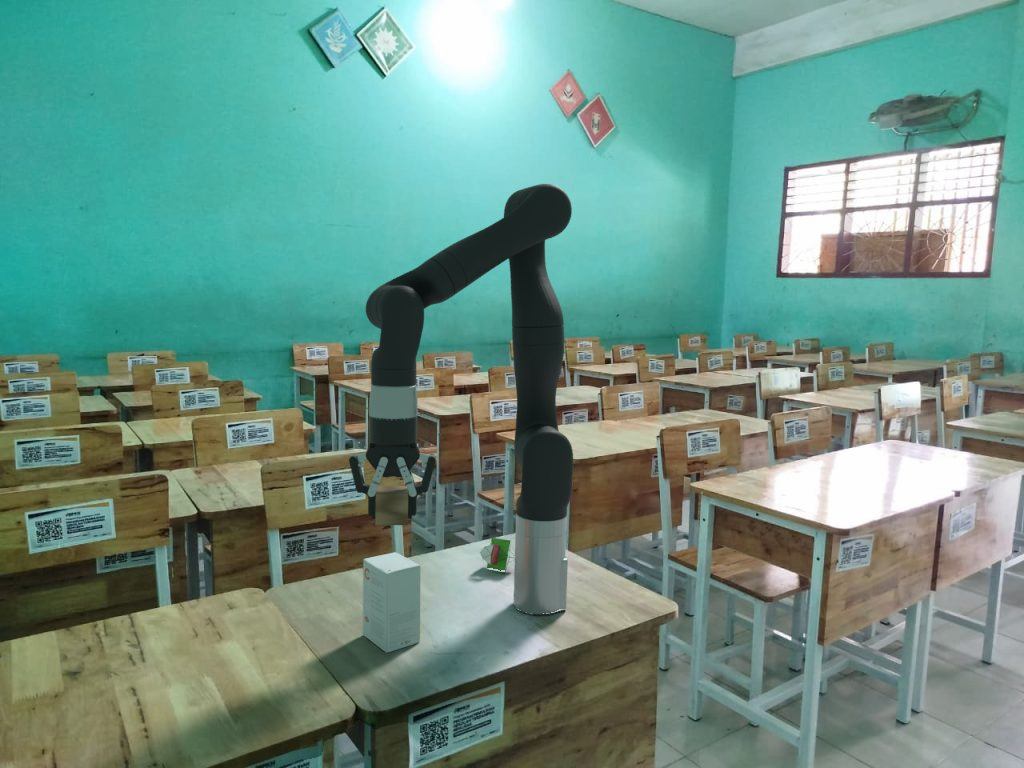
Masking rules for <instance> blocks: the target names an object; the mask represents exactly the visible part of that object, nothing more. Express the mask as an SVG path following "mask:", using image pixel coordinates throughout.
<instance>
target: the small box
mask: <svg viewBox="0 0 1024 768" xmlns="http://www.w3.org/2000/svg"><path fill="white" fill-rule="evenodd" d="M362 562H363V568H362V569H363V573H362V577H363V578H362V584H363V585H362V636H364V637H365V638H366V639H368V640H370V641H371V642H372V643H373V644H374V645H376V646H377V647H378V648H380V649H381V650H382V651H384V652H385V653H391V652H395V651H397V650H400V649H405V648H406V647H409V646H412V645H415V644H418V643H420V642H421V564H419V563H416V562H415V561H413V560H411V559H409V558H407V557H406V556H403V555H401V554H400V553H398V552H395V551H393V552H389V553H385V554H380V555H376V556H371V557H367V558H363V561H362Z"/></svg>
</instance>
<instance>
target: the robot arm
mask: <svg viewBox="0 0 1024 768" xmlns="http://www.w3.org/2000/svg"><path fill="white" fill-rule="evenodd" d="M572 213H573V208H572V203H571V199H570V197H569V196H568V194H567V193H566V191H565V190H564V189H562V188H561V187H560V186H557V185H555V184H553V183H552V184H551V183H539V184H536V185H532V186H528V187H525V188H522V189H518V190H516V191H515V192H513V193H512V194H510V195H509V197H508V198H507V200H506V202H505V205H504V211H503V217H501V219H499V220H498V221H495V222H494V223H492V224H490V225H489V226H487V227H485V228H482V229H480V230H478V231H476V232H475V233H473V234H470V235H468V236H466V237H464V238H462V239H460V240H457V241H456V242H455V243H452V244H451V245H449V246H447V247H445V248H444V249H442V250H440V251H438V252H437V253H436V254H435V255H433V256H431V257H430V258H428V259H427V260H425V261H424V262H423V263H421V264H420V265H419V266H417V267H415V268H413V269H411V270H409V271H407V272H405V273H403V274H401V275H399V276H397V277H394V278H393V279H390V280H389V281H387V282H385V283H383V284H382V285H380V286H378V287H377V288H376V289H375V290H373V292H371V293H370V295H369V296H368V297H367V300H366V302H365V303H366V304H365V315H366V317H367V319H368V321H369V322H370V323H371V324H372V325H373V326H374V327H375V328H377V329H380V337H379V344H378V345H379V346H378V347H377V348H375V349H374V350H373V351H372V355H371V361H370V362H371V364H370V368H371V369H370V370H371V371H370V373H371V374H370V377H371V378H370V380H371V381H370V384H371V385H370V393H369V405H368V414H369V415H368V417H369V418H368V424H369V425H368V447H367V449H366V451H365V452H362V453H361V452H360V453H352V454H351V455H350V456H349V458H348V462H349V465H350V470H351V475H352V479H353V482H354V483H353V484H354V487H355V489H356V493H359V494H364V495H366V496H367V503H368V504H367V508H368V509H367V513H368V516H370V517H371V519H372V520H375V513H376V492H377V489H378V486H380V483H381V479H382V478H389V477H394V478H402V480H403V482H404V486H406V487H407V490H408V492H409V496H408V520H413V516H416V514H417V510H418V496H419V495H421V494H425V493H427V492H428V491H429V487H430V484H431V480H432V477H433V472H434V469H435V465H436V462H437V459H436V455H435V454H434V453H430V454H428V453H424V452H423V453H422V452H421V451H420V449H419V447H418V412H419V408H418V404H419V403H418V402H419V401H418V392H417V391H418V390H417V356H418V352H419V349H420V346H421V345H420V344H421V339H422V335H423V331H424V330H423V329H424V324H425V309H427V308H428V307H430V306H433V305H438V304H441V303H443V302H445V301H448V300H449V299H451V298H452V297H454V296H455V295H457V294H458V293H460V292H461V291H463V290H464V289H465V288H467V287H469V286H470V285H471V284H473V283H474V282H476V281H477V280H479V279H480V278H481V277H482V276H485V275H486V274H487V273H489V272H490V271H492V270H493V269H495V268H497V267H498V266H499V265H501V264H503V263H504V262H506V261H507V260H508V263H509V273H510V274H509V275H510V297H511V300H510V301H511V327H512V328H511V334H512V335H511V337H512V338H511V339H512V341H511V342H512V355H513V356H512V357H513V370H514V371H513V372H514V380H515V389H516V416H515V429H514V430H515V432H514V449H513V450H514V456H515V458H516V461H517V462H518V464H519V465H520V467H521V484H520V485H521V487H520V494H519V496H518V497H517V498H516V506H515V507H516V508H515V509H516V511H515V541H514V543H515V544H514V572H513V573H514V575H513V579H514V580H513V585H514V586H513V606H514V607H516V608H517V610H518V609H519V610H521V611H520V612H522V611H523V612H522V613H524V612H527V613H526V614H528V613H532V614H531V615H533V614H543V613H544V614H546V613H551V612H555V611H557V610H559V609H566V610H567V597H568V596H567V594H568V593H567V591H568V567H569V565H568V564H569V561H568V559H567V557H566V553H567V552H566V550H567V547H566V546H567V519H568V518H567V517H568V505H569V504H570V501H571V497H572V487H573V472H574V471H573V470H574V451H573V447H572V445H571V442H570V440H569V438H568V437H567V436H566V435H565V434H563V432H561V431H559V426H558V425H559V424H558V417H557V407H556V406H557V403H556V402H557V401H556V398H557V396H556V395H557V390H558V384H559V379H560V375H561V371H562V367H563V361H564V355H565V326H564V325H565V323H564V321H565V320H564V315H563V314H564V313H563V310H562V307H561V305H560V302H559V299H558V296H557V295H556V293H555V290H554V287H553V286H552V283H551V280H550V278H549V276H548V272H547V271H548V270H547V265H546V240H549V239H552V238H554V237H556V236H559V235H560V234H562V233H563V232H564V231H565V229H566V228H567V226H568V225H569V223H570V221H571V219H572V218H571V217H572ZM366 460H367V461H368V463H369V464H370V465H371V467H373V469H374V470H375V472H374V475H373V478H372V480H371V481H370V482H371V483H370V484H367V483H366V481H365V477H364V474H363V469H362V468H363V467H364V465H365V461H366ZM419 460H420V462H421V467H422V469H423V468H424V472H423V476H422V479H421V483H419V484H418V483H417V484H416V481H415V479H414V476H413V473H412V469H413V467H414V466H415V464H417V462H418V461H419ZM516 608H515V609H516ZM519 610H518V611H519Z"/></svg>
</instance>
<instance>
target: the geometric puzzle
mask: <svg viewBox="0 0 1024 768" xmlns="http://www.w3.org/2000/svg"><path fill="white" fill-rule="evenodd" d="M511 542H512V540H510V539H509V540H508V539H505V538H504V539H502V538H497V537H491V539H490V544H489V545H485V546H484V547H483V548H482V549H481V550H480V551H479V553H480V556H481V558H482V561H483V563H484V561H485V562H486V563H487V564H486V569H487V568H493V569H498V570H500V571H501V570H505V571H507V568H508V566H509V565H508V564H510V563H512V562H515V559H514V557H512V556H511V554H512V555H514V553H512V551H511V549H510V546H511ZM512 550H513V551H515V548H512ZM509 553H510V554H509ZM510 559H512V560H511V561H510Z"/></svg>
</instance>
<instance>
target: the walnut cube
mask: <svg viewBox="0 0 1024 768" xmlns="http://www.w3.org/2000/svg"><path fill="white" fill-rule="evenodd" d="M408 496H409V492H408V490H407V487H406V485H379V486H378V488H377V492H376V513H375V519H374V520H375V523H374V524H375V526H408V524H409V519H408Z"/></svg>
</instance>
